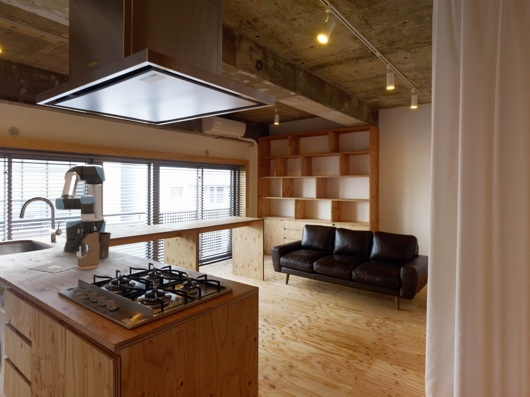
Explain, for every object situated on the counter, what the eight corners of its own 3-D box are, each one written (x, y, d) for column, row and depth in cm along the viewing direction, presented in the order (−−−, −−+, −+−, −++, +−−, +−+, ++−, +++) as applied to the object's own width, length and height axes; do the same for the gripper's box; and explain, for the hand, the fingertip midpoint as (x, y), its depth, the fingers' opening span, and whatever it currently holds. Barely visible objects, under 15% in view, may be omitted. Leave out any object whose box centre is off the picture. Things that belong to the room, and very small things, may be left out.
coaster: (88, 262, 213) (88, 261, 213) (104, 264, 209) (104, 263, 209) (71, 267, 201) (71, 266, 201) (88, 270, 197) (88, 269, 197)
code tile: (53, 262, 211) (53, 262, 211) (79, 266, 204) (79, 265, 204) (28, 269, 196) (28, 268, 196) (56, 273, 189) (56, 272, 189)
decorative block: (79, 267, 200) (78, 234, 198) (78, 265, 204) (77, 233, 203) (99, 264, 206) (98, 233, 205) (97, 262, 211) (97, 231, 209)
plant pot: (97, 260, 218) (97, 236, 217) (79, 258, 224) (79, 234, 223) (116, 255, 234) (116, 233, 233) (99, 253, 239) (99, 231, 238)
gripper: (98, 217, 216) (99, 249, 217) (65, 222, 192) (65, 258, 194) (108, 218, 214) (108, 250, 215) (75, 223, 190) (75, 259, 191)
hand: (88, 254), depth 204 cm, fingers open, 13 cm apart
